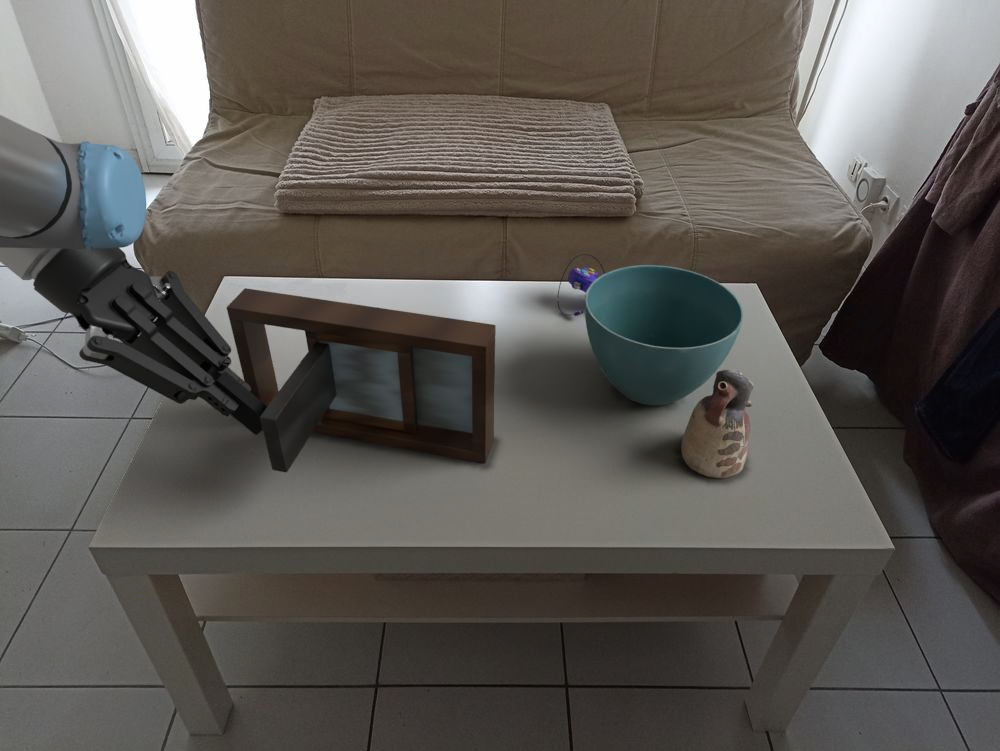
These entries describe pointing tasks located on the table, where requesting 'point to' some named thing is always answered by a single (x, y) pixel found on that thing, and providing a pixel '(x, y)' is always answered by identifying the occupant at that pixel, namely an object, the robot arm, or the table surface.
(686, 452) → the figurine
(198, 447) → the table surface
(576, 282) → the game controller
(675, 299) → the teal bowl
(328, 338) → the sliding pane
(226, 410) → the robot arm
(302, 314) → the window frame
